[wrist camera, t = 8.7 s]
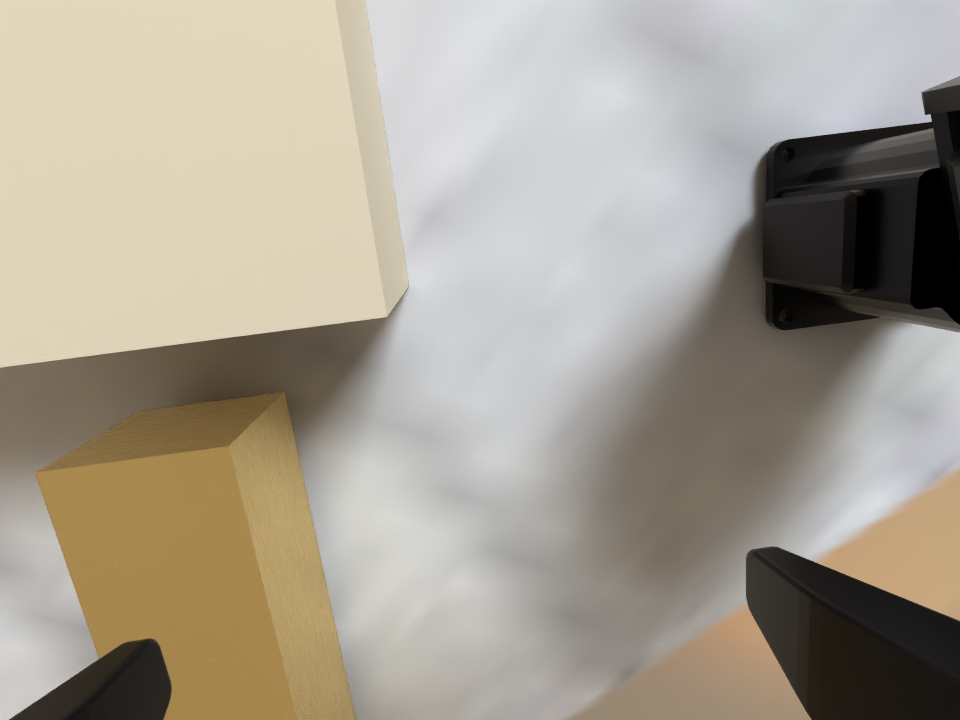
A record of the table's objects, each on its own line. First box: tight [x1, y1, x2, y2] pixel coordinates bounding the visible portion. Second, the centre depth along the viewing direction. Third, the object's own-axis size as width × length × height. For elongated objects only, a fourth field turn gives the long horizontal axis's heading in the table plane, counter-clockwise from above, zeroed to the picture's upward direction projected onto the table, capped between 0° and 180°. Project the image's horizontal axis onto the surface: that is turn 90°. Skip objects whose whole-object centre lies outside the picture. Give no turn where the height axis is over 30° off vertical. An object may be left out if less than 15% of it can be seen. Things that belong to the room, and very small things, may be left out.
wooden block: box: [35, 392, 356, 720], centre depth 18 cm, size 6×17×6 cm, turn 7°
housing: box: [0, 0, 409, 368], centre depth 14 cm, size 14×10×7 cm
